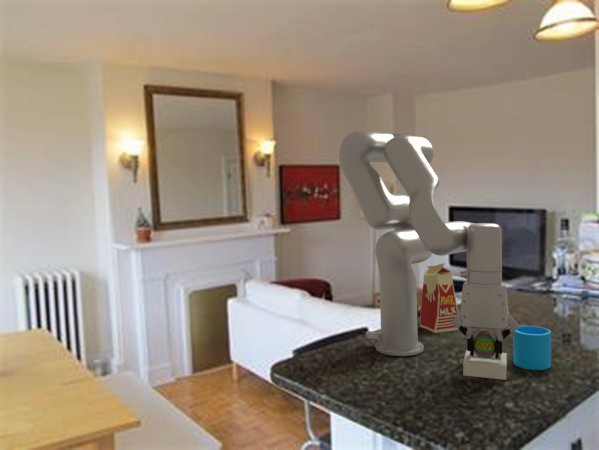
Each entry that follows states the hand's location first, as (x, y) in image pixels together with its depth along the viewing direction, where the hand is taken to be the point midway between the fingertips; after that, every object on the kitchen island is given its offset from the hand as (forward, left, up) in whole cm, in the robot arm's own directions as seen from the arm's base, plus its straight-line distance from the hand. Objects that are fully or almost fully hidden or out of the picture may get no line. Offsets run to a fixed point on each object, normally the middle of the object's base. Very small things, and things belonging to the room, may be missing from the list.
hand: (484, 354), depth 120 cm
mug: (+10, +10, -4) cm, 15 cm away
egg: (0, 0, -1) cm, 1 cm away
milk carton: (-15, +34, -4) cm, 37 cm away
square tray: (0, 0, -4) cm, 4 cm away
